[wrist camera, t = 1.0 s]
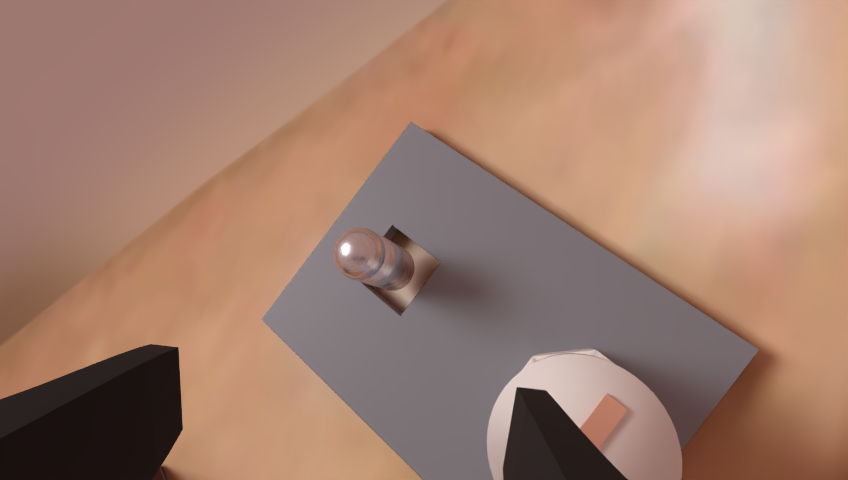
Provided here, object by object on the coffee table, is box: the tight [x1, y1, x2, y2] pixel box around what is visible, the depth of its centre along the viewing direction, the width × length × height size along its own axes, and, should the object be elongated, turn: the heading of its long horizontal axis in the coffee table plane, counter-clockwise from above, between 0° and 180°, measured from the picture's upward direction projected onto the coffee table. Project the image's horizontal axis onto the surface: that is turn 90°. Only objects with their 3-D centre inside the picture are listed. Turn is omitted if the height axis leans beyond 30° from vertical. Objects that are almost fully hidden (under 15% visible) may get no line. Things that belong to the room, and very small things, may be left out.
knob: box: [487, 348, 682, 480], centre depth 15 cm, size 5×5×7 cm
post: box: [334, 228, 415, 291], centre depth 19 cm, size 2×2×5 cm
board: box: [262, 122, 759, 480], centre depth 21 cm, size 17×12×1 cm
